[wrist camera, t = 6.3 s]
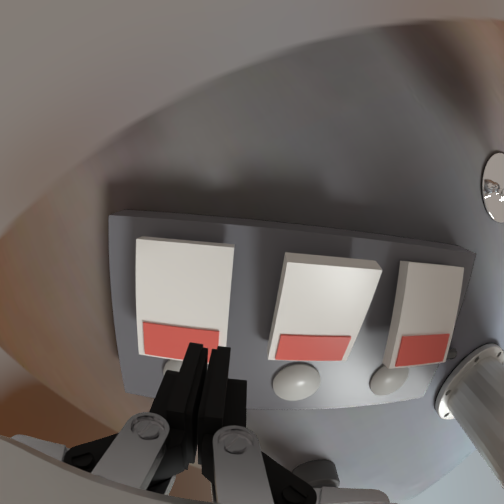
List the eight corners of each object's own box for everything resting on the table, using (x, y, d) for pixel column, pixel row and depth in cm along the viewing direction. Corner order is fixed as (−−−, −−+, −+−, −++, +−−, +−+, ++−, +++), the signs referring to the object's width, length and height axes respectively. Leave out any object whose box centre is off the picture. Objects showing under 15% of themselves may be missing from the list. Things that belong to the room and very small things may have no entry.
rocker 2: (375, 260, 18) (383, 271, 16) (342, 349, 21) (346, 362, 20) (285, 252, 17) (287, 263, 16) (267, 348, 21) (267, 361, 20)
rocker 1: (234, 244, 18) (234, 248, 17) (225, 356, 20) (224, 366, 18) (142, 236, 18) (135, 239, 17) (143, 346, 19) (138, 355, 18)
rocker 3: (455, 266, 20) (465, 267, 18) (437, 357, 20) (446, 362, 19) (400, 260, 19) (409, 262, 18) (382, 362, 20) (389, 369, 18)
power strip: (484, 249, 23) (504, 258, 20) (439, 376, 27) (452, 392, 24) (124, 209, 21) (106, 215, 18) (134, 373, 25) (124, 394, 22)
